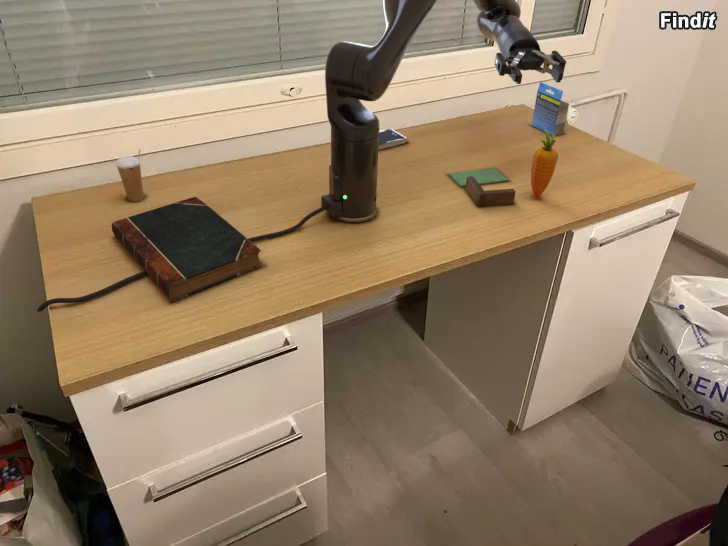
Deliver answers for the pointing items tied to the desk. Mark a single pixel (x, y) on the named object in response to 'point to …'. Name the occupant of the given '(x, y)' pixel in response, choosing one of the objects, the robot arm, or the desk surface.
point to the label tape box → (549, 110)
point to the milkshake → (131, 177)
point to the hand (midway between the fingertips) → (540, 79)
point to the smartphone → (390, 138)
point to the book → (186, 247)
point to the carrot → (543, 165)
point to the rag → (479, 176)
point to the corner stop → (488, 194)
